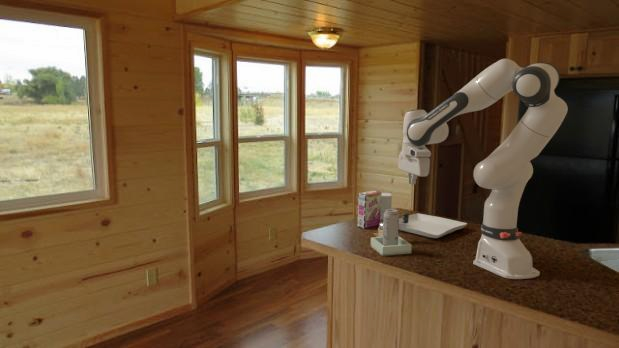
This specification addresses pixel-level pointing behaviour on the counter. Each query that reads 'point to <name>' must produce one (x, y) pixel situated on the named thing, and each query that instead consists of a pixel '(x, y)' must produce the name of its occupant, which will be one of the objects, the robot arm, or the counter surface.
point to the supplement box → (385, 203)
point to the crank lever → (401, 224)
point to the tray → (391, 247)
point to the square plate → (431, 225)
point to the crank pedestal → (379, 233)
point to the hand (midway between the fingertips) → (411, 183)
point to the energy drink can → (390, 227)
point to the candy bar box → (369, 209)
